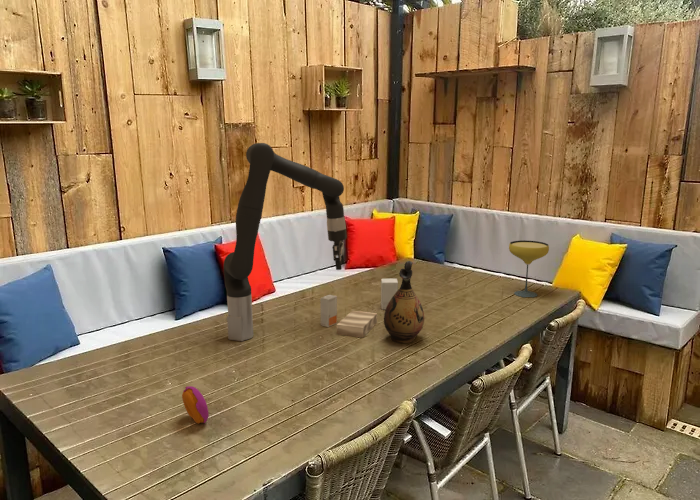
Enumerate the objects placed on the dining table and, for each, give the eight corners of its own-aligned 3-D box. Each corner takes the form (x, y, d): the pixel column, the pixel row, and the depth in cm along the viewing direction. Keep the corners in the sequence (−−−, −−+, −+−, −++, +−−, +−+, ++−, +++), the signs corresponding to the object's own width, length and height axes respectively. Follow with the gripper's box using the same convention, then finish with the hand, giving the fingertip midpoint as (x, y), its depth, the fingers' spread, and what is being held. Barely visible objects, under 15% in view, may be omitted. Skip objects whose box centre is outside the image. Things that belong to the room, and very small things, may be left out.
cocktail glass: (498, 291, 268) (501, 242, 262) (526, 287, 275) (530, 239, 270) (524, 302, 252) (527, 249, 246) (553, 296, 259) (557, 245, 254)
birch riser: (362, 337, 209) (362, 327, 209) (336, 334, 213) (336, 324, 212) (377, 322, 226) (377, 313, 225) (352, 319, 230) (352, 310, 229)
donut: (214, 412, 154) (212, 379, 152) (207, 429, 145) (204, 395, 143) (186, 412, 154) (184, 380, 152) (177, 430, 145) (174, 396, 143)
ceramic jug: (422, 347, 199) (424, 269, 193) (380, 344, 202) (381, 267, 196) (425, 331, 215) (427, 258, 209) (387, 328, 218) (387, 256, 212)
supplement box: (397, 309, 242) (398, 282, 239) (381, 309, 242) (381, 282, 239) (396, 304, 249) (397, 278, 246) (380, 304, 249) (380, 278, 246)
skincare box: (328, 327, 220) (327, 299, 218) (320, 325, 223) (319, 297, 220) (337, 323, 225) (337, 295, 222) (329, 321, 227) (329, 294, 225)
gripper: (330, 225, 226) (333, 262, 230) (324, 232, 212) (328, 272, 216) (347, 224, 225) (351, 261, 229) (343, 231, 211) (347, 271, 215)
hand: (340, 266), depth 222 cm, fingers open, 8 cm apart
